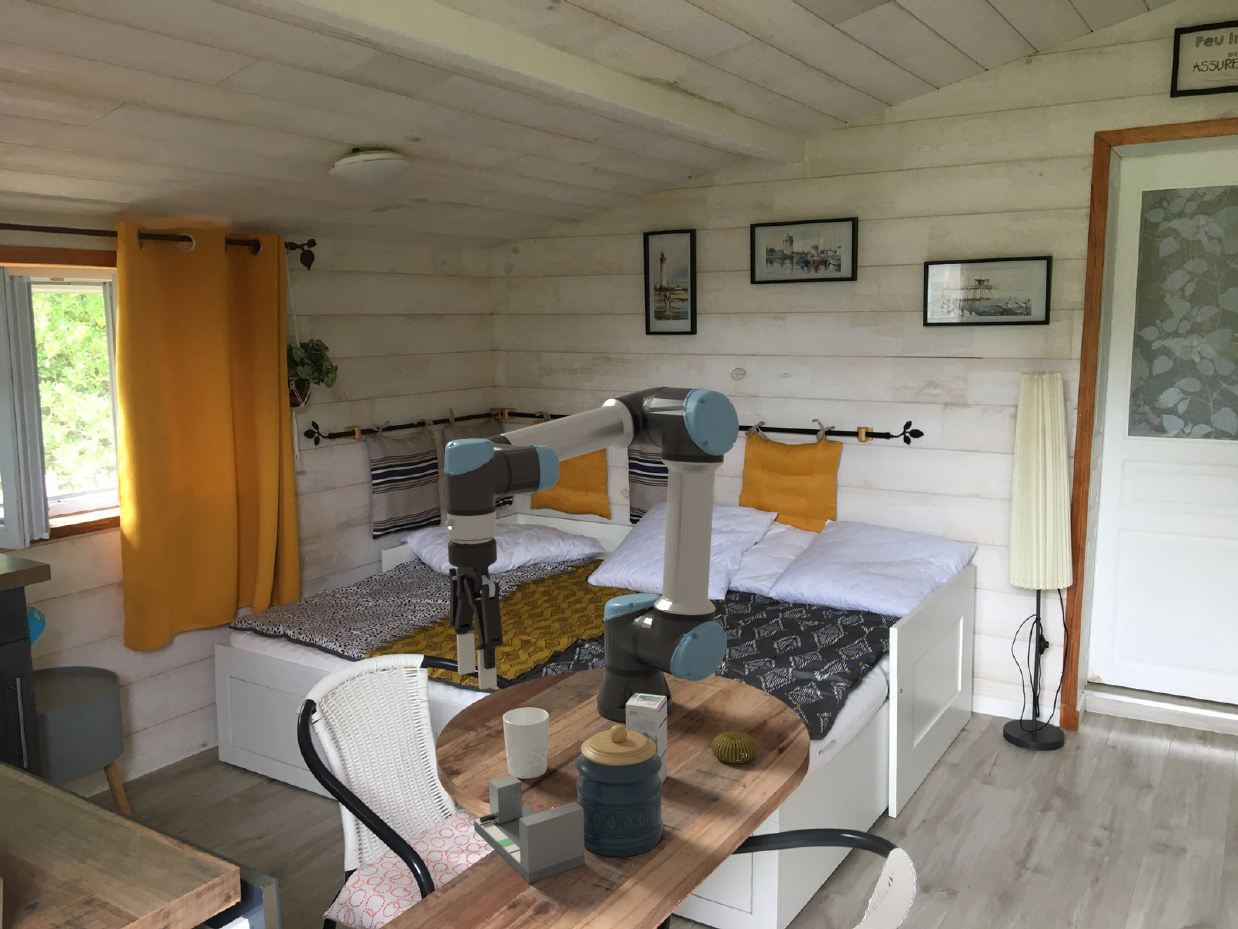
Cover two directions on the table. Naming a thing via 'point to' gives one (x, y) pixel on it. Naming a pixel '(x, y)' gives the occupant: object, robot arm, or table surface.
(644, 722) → the syrup box
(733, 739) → the green sea urchin shell
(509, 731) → the white cup
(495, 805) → the block
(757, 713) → the table surface
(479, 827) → the gauge base
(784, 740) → the table surface
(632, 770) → the canister
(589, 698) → the table surface
